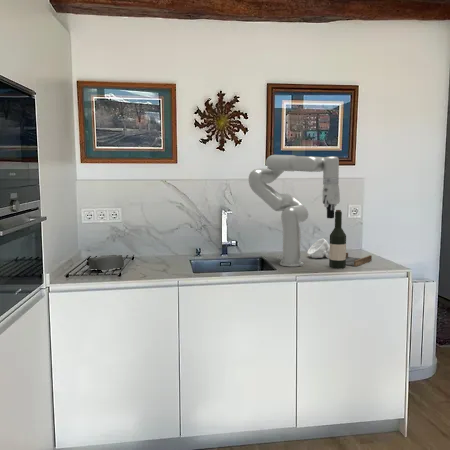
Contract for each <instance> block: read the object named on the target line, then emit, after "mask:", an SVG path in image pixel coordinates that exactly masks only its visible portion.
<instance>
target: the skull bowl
mask: <svg viewBox="0 0 450 450" xmlns="http://www.w3.org/2000/svg"><path fill="white" fill-rule="evenodd" d="M329 253H330V243H328V240H326V239H325V238H323V237H322V238H320V239H318V240H317V241H316V242H314V243H313V244H311V246H310V247H309V248H308V250H307V255H308V256H309V257H310V258H312V259H320V258H324V257H325V258H327V259H329Z"/></svg>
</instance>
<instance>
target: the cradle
mask: <svg viewBox="0 0 450 450" xmlns="http://www.w3.org/2000/svg"><path fill="white" fill-rule="evenodd" d="M372 257H373V256H372V255H367V256H364V257H361V258H359V257H354V256H353V257H351V256H349V252H346V266H347V267H355V268H357V267H359V266H361V265H364V264H365V265H366V264H367V263H371V262H372V261H373V260H372V259H373V258H372Z"/></svg>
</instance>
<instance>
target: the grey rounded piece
mask: <svg viewBox="0 0 450 450" xmlns="http://www.w3.org/2000/svg"><path fill="white" fill-rule="evenodd" d="M85 264H86V266H88V270H90V269H97V270H107V269H113V268H121V269H122V268H124V266H125V261H124V257H123V256H122V254H118V255H117V254H109V255H107V254H106V255H101V256H97V257H89V258H88V261H86V263H85Z"/></svg>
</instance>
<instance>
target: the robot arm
mask: <svg viewBox="0 0 450 450" xmlns="http://www.w3.org/2000/svg"><path fill="white" fill-rule="evenodd" d="M339 161H340V159H339V156H326V157H323V156H303V155H302V156H301V155H300V156H299V155H298V156H297V155H294V154H272V155H269V156H268V157H267V158H266V160H265V166H266V167H267V168H256V169H253V170H252V171H250V173H249V175H248V185H249V187H250V190H252V192H253V193H255V195H256V196H257V197H259V198H260V199H261V200H262V201H263V202H264V203H266V205H268V206H269V207H270V208H271V209H272V210H274V211H275V212H281V215H280V219H281V224H282V255H277V257H276V259H277V260H280V262H279V265H280V266H283V267H289V268H290V267H293V268H295V267H302V266H303V265H304V262H303V261H301V245H302V244H301V243H302V242H301V240H302V239H301V237H302V236H301V235H302V234H301V227H300V224H301V223H304V222H305V221H307V219H308V217H309V211H308V209H307V207H305V205H303V204H302V203H301V202H300V201H299V200H297V199H296V198H295V197H294V196H293V195H291V194H289V193H280V192H278V191H277V190H275V189H274V187H272V186H270V185H269V184H272V183H273V182H274V181H276V180H277V179H278V178H279V177H280V176H281V175H282V174H283V173H284V172H308V173H315V172H316V173H317V172H319V173H320V172H323V173H322V185H323V187H322V188H323V189H322V204H324V205H323V206H324V208H326V209H325V210H326V218H327V219H335V211H336V210H335V208H336V206H338V204H340V201H341V199H340V198H341V197H340V186H339V181H340V180H339V179H340V177H339V175H340V173H339V172H340V171H339V168H340V162H339Z"/></svg>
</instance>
